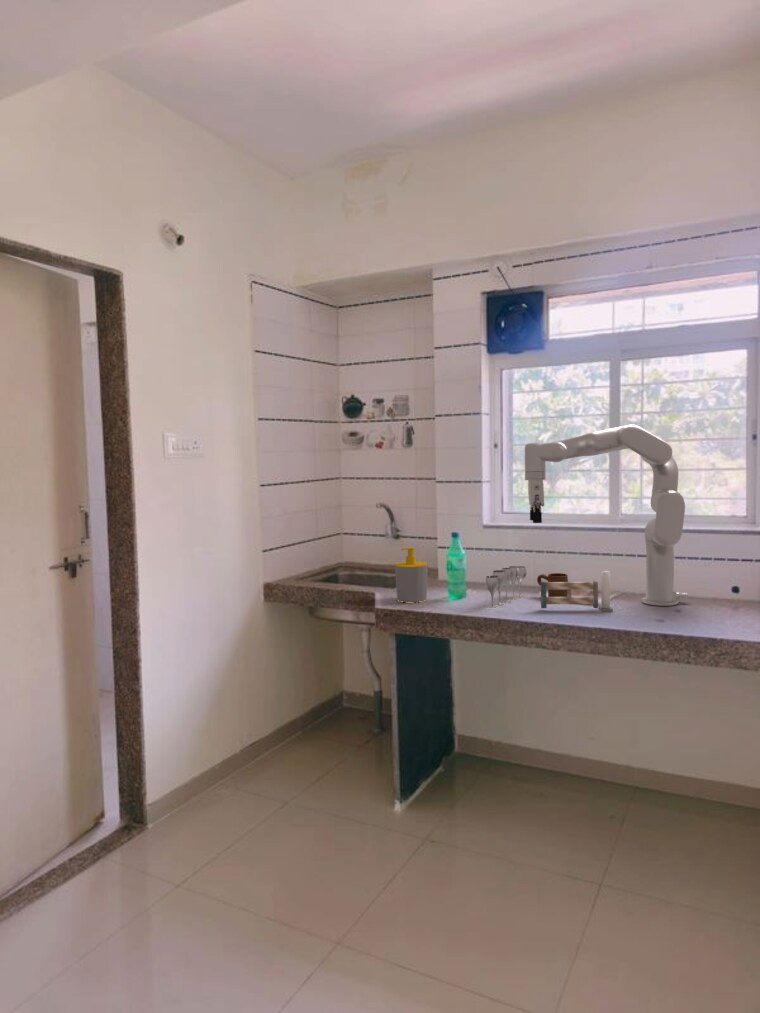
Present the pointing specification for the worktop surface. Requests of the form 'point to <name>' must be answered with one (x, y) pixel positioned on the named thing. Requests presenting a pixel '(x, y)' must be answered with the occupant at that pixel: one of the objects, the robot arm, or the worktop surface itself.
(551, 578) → the mug
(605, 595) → the gate post
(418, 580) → the soap bottle
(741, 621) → the worktop surface
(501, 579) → the goblet set
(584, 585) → the gate
